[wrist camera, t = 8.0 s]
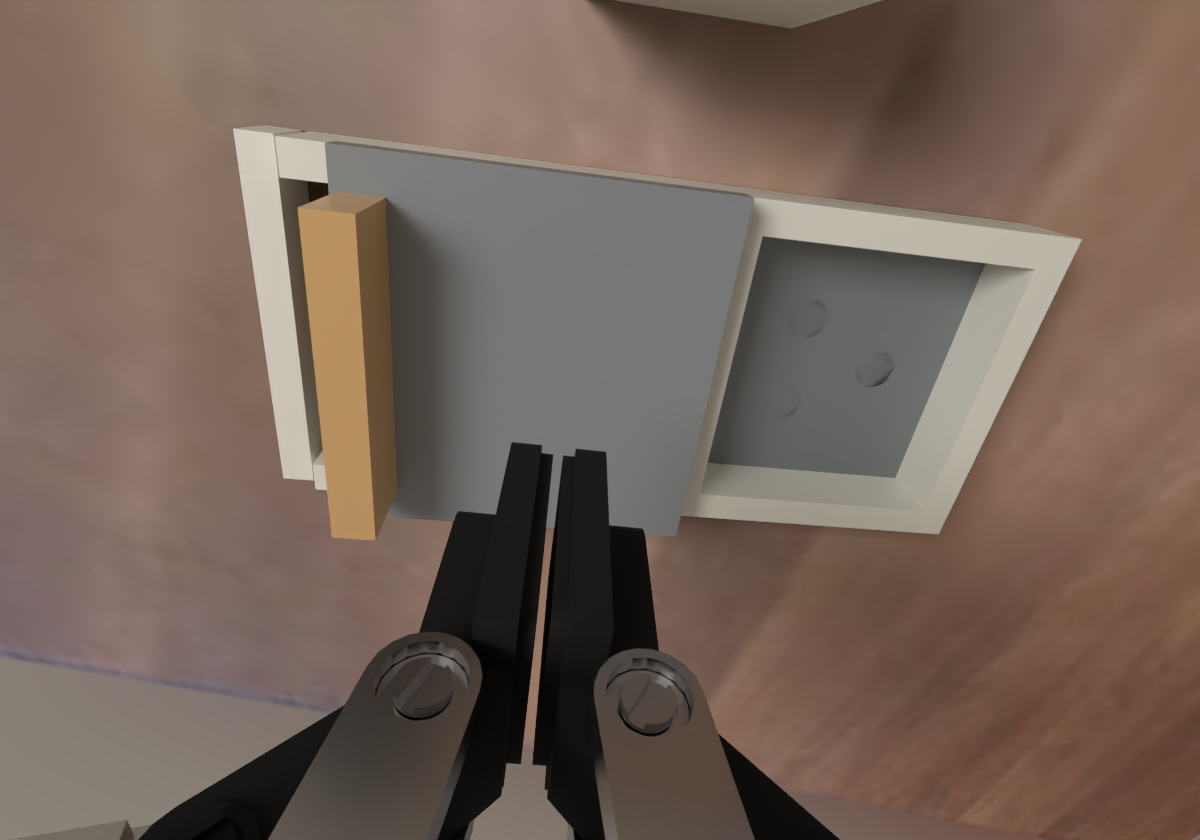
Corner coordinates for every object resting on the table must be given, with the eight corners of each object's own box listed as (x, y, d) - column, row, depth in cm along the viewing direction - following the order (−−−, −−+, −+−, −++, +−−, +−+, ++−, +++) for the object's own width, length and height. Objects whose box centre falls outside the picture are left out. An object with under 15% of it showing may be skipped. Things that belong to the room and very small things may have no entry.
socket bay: (1025, 223, 20) (1082, 239, 18) (906, 495, 25) (938, 534, 23) (267, 125, 18) (223, 129, 15) (305, 448, 23) (277, 486, 20)
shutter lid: (746, 193, 16) (785, 213, 13) (672, 522, 22) (689, 588, 19) (335, 140, 15) (281, 150, 12) (362, 500, 20) (327, 566, 18)
